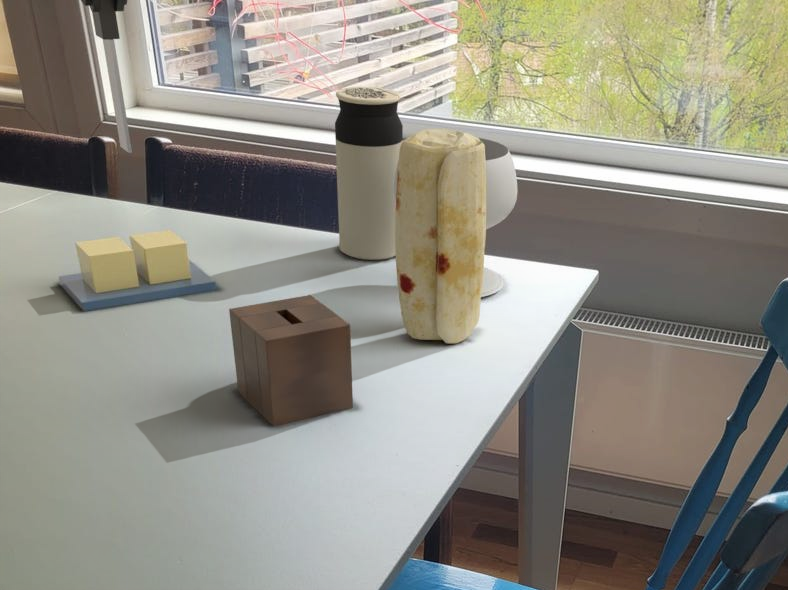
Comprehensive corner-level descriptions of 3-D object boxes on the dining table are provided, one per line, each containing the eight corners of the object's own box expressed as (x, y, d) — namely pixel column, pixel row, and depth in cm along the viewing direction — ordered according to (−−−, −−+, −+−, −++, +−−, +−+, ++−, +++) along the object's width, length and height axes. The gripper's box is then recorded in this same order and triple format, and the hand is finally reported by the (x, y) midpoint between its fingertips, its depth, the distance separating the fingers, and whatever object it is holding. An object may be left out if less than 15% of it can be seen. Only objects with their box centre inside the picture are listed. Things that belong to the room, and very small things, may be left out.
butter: (83, 311, 107) (74, 264, 104) (60, 285, 113) (50, 239, 109) (216, 290, 114) (211, 245, 111) (187, 265, 119) (182, 222, 116)
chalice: (392, 263, 124) (391, 130, 114) (503, 264, 125) (511, 134, 116) (396, 304, 113) (395, 162, 103) (517, 306, 114) (528, 166, 105)
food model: (464, 318, 111) (472, 120, 98) (494, 340, 106) (506, 136, 94) (385, 331, 107) (382, 127, 94) (412, 355, 102) (413, 143, 90)
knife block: (273, 427, 89) (265, 340, 84) (238, 392, 94) (228, 308, 89) (353, 408, 92) (350, 324, 87) (315, 375, 97) (310, 294, 92)
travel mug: (353, 264, 122) (349, 101, 111) (330, 244, 128) (323, 87, 117) (412, 257, 126) (413, 98, 114) (387, 238, 131) (386, 84, 120)
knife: (122, 153, 101) (88, -50, 90) (114, 147, 103) (80, -53, 92) (138, 152, 102) (106, -50, 91) (129, 145, 103) (98, -53, 93)
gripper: (-37, -211, 86) (33, -24, 86) (120, -201, 92) (186, -26, 92) (-33, -137, 93) (32, 37, 93) (113, -132, 99) (174, 31, 99)
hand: (109, 5), depth 93 cm, fingers closed on knife, 1 cm apart
